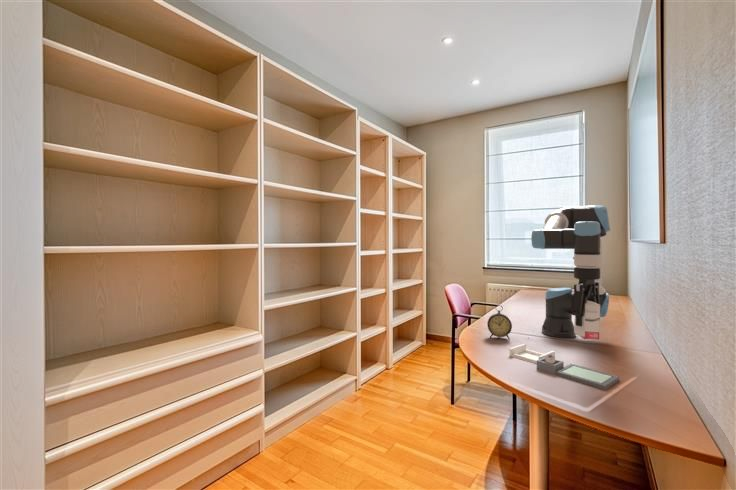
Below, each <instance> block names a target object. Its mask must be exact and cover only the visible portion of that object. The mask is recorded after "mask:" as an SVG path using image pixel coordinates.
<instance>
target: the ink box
mask: <svg viewBox="0 0 736 490" xmlns="http://www.w3.org/2000/svg"><path fill="white" fill-rule="evenodd" d="M584 316H585V337H583V336H579V337H580V338H582V339H583V340H597V341H598V340H600V327H601V325H600V324H601V317H600V304H597V303H595V302H592V301H588V300H587V303H585V312H584ZM573 325H574V333H575V321H574V322H573Z"/></svg>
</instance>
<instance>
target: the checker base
mask: <svg viewBox="0 0 736 490" xmlns="http://www.w3.org/2000/svg"><path fill="white" fill-rule="evenodd" d="M572 366H576V367H580V368H583V369H587V370H590V371H594V372H598V373H601V374H605V375H609V376H612V378H610V379H609V380H607V381H606V382H604V383H602V384H601V383H598V382H595V381H591V380H588V379H584V378H581V377H578V376H574V375H571V374H567V373H564V372H562V371H564V370H566V369H568V368H570V367H572ZM554 375H556V376H558V377H561V378H565V379H567V380H571V381H574V382H578V383H581V384H584V385H588V386H590V387H593V388H594V387H595V388H597V389H601V390H602V391H603V390H604V391H606V390H607V389H608V388H610V387H612V386H613V385H615V384H616V383H618V382H619V381H620V376H617V375H614V374H611V373H607V372H603V371H599V370H595V369H594V368H593V369H592V368H588V367H584V366H580V365H577V364H573V363H569V364H566V366H564V367H563V368H561V369H559V370H557V371H555V374H554Z"/></svg>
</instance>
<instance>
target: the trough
mask: <svg viewBox="0 0 736 490" xmlns="http://www.w3.org/2000/svg"><path fill="white" fill-rule="evenodd" d="M546 355H552V356H554V357H555V358H556V351H555V350H551V351H548V352H546V353H542V352H540V351H535V350H531V349H527V344H526V343H522V344H519V345H516V346H513V347H510V348H509V356H510V357H511V358H514V359H519V360H521V361H524V362H525V361H526V362H528V363H533V364H536V365H537V360H539V359H542V358H544V357H545V356H546Z"/></svg>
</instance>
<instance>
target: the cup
mask: <svg viewBox="0 0 736 490" xmlns="http://www.w3.org/2000/svg"><path fill="white" fill-rule="evenodd" d="M564 364H565V363H564V361H562V360H558V359H555V364H554V365H553V364H550V363H546V362H545V357H544V358H542V359H539V360H537V364H536V370H540V371H543V372H545V373H549V374H552V375H555V371H557V370H559V369H561V368H563V367H565V366H564Z"/></svg>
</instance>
